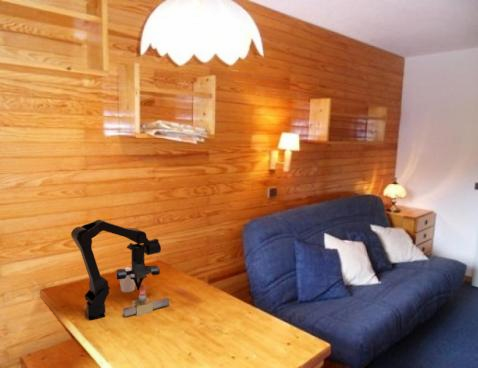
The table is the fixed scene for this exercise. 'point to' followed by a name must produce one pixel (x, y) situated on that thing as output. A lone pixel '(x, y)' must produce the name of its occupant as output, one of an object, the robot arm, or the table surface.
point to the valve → (145, 306)
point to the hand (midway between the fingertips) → (138, 290)
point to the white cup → (127, 283)
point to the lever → (142, 293)
